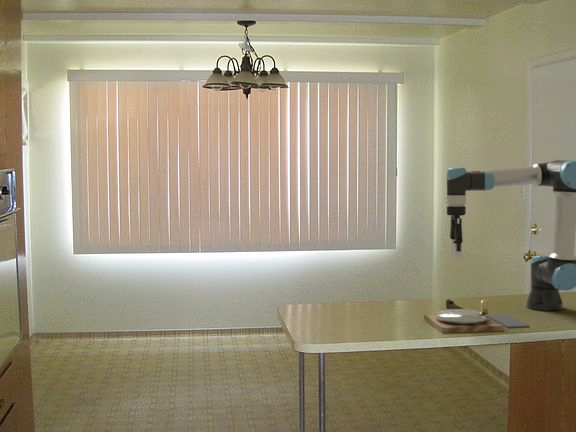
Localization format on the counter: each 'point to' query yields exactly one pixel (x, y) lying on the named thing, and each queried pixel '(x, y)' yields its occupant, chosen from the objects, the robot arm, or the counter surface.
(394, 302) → the counter surface
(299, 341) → the counter surface
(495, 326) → the board
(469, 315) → the dial
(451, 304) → the hand tool
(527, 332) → the counter surface
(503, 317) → the mat
